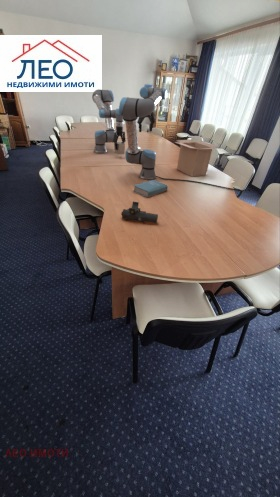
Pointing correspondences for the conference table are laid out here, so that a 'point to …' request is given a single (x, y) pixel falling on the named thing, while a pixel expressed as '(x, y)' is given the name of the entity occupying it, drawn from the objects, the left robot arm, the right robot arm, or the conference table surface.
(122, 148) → the block
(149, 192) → the book
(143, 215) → the laser sight
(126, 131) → the right robot arm
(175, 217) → the conference table surface
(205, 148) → the box
